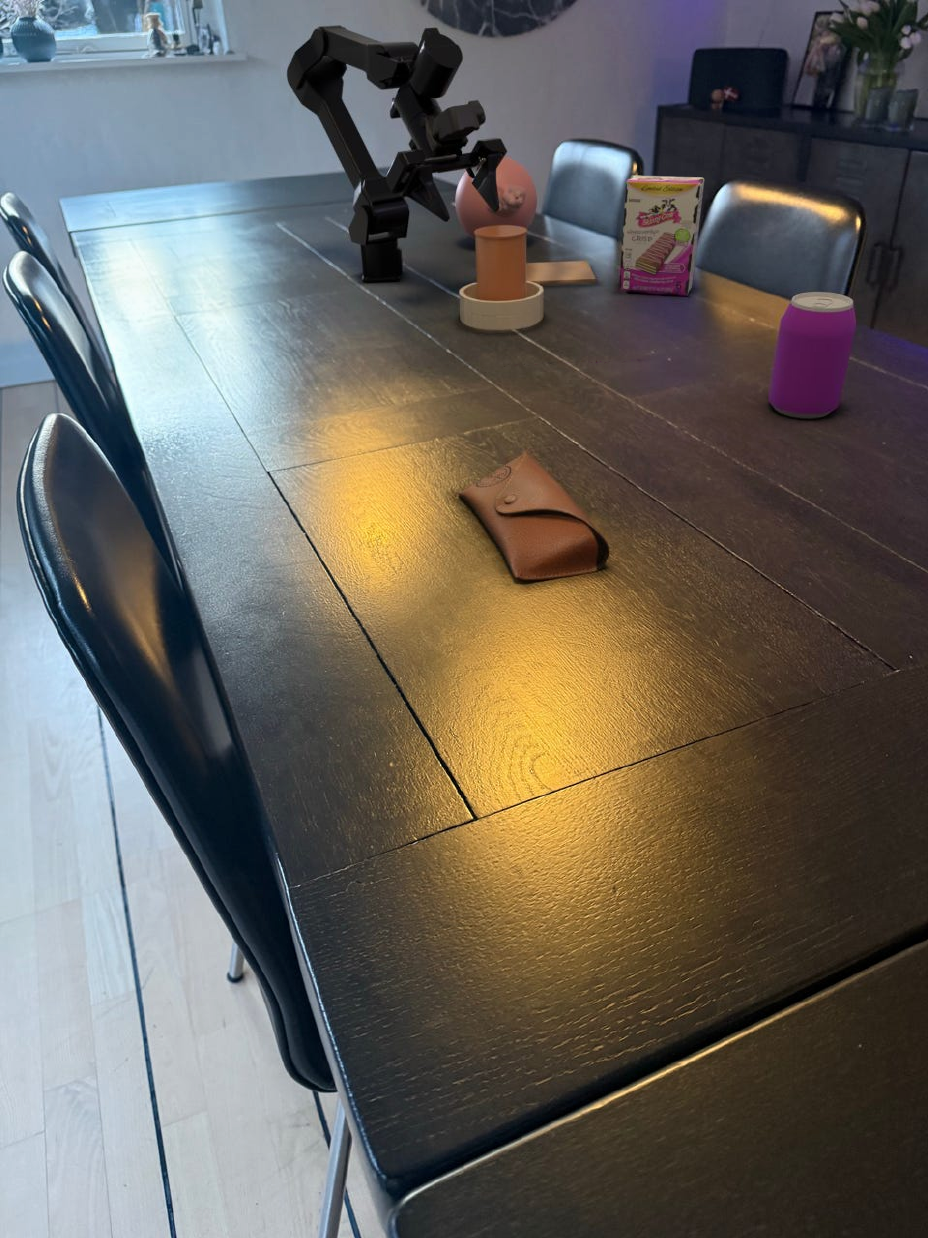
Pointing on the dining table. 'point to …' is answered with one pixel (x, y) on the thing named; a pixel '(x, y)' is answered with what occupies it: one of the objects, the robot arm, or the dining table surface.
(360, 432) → the dining table surface
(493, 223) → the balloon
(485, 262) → the orange lidded canister
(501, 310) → the cream round container
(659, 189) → the candy bar box
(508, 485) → the sunglasses case
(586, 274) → the plate
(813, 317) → the beverage can
